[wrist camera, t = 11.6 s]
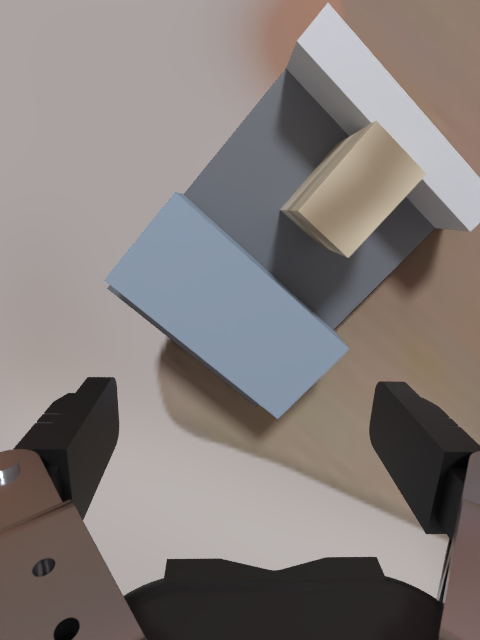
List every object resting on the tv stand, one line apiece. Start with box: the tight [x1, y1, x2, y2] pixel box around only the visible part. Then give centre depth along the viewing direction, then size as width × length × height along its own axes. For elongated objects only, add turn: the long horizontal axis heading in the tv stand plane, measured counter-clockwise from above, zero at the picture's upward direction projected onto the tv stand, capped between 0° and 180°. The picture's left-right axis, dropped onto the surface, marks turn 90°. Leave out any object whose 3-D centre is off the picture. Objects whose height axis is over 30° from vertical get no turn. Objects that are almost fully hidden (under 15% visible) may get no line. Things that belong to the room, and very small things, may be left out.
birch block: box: [280, 121, 426, 258], centre depth 25 cm, size 4×6×8 cm, turn 139°
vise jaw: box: [105, 192, 349, 419], centre depth 28 cm, size 16×8×4 cm, turn 48°
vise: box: [107, 3, 480, 407], centre depth 28 cm, size 16×24×6 cm, turn 138°
